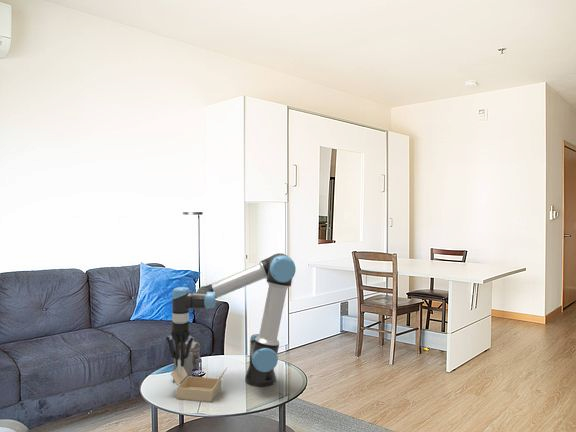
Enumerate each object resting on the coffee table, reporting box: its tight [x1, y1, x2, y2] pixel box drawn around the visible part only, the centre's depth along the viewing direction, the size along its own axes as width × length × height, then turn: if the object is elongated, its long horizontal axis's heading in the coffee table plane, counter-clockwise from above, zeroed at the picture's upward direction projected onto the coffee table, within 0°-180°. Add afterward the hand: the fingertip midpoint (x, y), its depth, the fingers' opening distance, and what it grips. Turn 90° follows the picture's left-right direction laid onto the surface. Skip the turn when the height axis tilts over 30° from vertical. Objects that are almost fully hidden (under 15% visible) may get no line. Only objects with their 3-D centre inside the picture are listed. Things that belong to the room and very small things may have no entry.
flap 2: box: [213, 367, 228, 388], centre depth 215 cm, size 6×13×1 cm
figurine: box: [185, 339, 201, 371], centre depth 249 cm, size 10×11×15 cm
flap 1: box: [170, 366, 188, 386], centre depth 217 cm, size 6×13×1 cm
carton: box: [175, 375, 222, 403], centre depth 216 cm, size 16×15×5 cm
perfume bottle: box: [172, 343, 193, 385], centre depth 231 cm, size 7×7×18 cm
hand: (180, 373), depth 217 cm, fingers closed
